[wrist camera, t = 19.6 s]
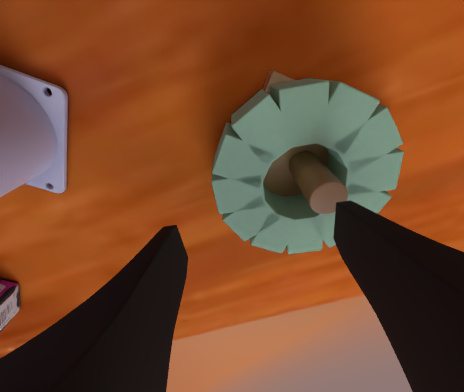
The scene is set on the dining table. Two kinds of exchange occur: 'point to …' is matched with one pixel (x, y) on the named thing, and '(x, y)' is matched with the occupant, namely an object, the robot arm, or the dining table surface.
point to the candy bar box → (8, 302)
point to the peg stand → (304, 170)
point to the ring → (299, 134)
